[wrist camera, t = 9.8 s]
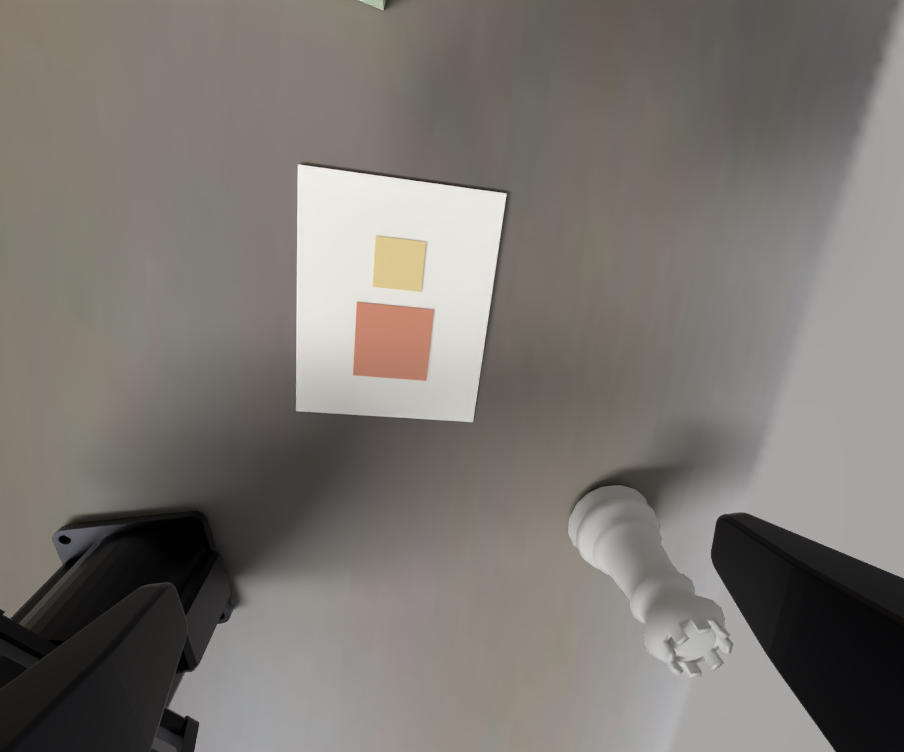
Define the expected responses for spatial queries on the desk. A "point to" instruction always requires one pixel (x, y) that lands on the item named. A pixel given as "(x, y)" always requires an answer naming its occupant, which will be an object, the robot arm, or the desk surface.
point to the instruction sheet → (392, 294)
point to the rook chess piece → (649, 578)
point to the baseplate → (375, 3)
